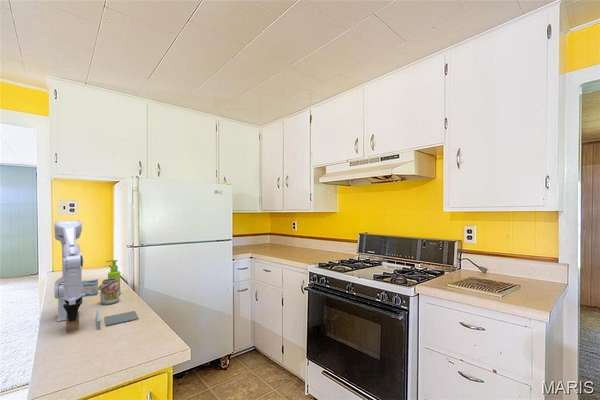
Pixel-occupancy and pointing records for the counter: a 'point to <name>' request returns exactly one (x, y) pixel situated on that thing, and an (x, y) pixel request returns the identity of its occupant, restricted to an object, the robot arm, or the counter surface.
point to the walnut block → (72, 324)
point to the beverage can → (109, 291)
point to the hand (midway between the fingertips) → (72, 318)
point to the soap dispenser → (114, 272)
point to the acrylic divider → (98, 320)
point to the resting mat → (120, 318)
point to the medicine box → (90, 287)
